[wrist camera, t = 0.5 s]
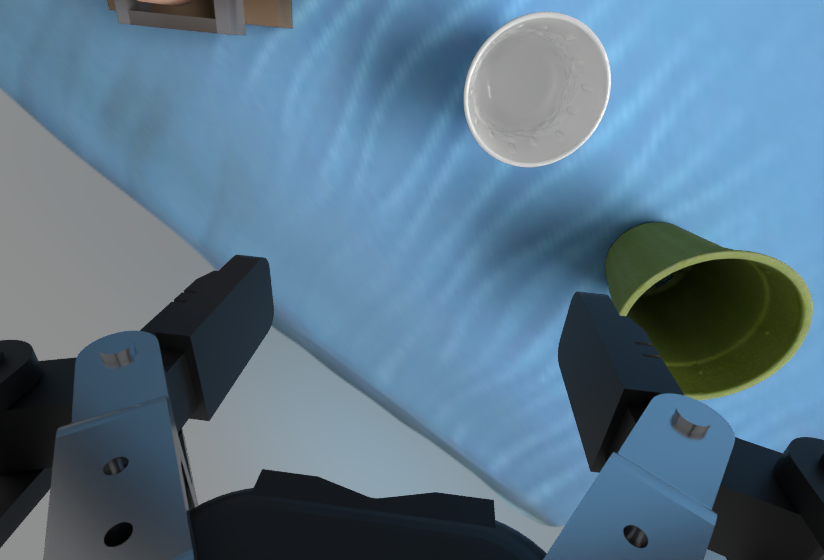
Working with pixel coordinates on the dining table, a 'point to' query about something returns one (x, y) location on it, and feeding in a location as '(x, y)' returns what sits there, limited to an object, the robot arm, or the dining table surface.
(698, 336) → the plant pot
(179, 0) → the button three
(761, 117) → the dining table surface
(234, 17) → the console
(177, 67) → the dining table surface
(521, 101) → the white cup
